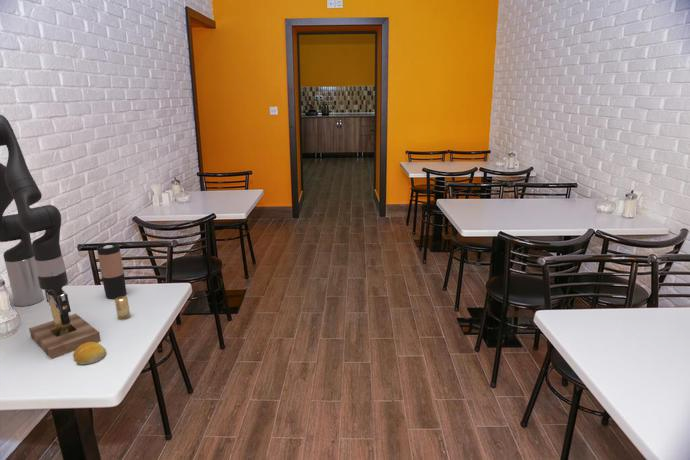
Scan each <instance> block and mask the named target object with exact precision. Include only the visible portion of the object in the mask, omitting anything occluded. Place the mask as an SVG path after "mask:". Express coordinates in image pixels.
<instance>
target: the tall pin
mask: <svg viewBox="0 0 690 460" xmlns="http://www.w3.org/2000/svg"><path fill="white" fill-rule="evenodd" d="M49 300H50V305H51V306H50V305H49V306H50V311H51V310H52V311H51V315H52V314H53V315H52V319H53V321H54V324H55V329H56V333H57V337H58V336H61V335H64V334H66V333H69V332H71V328H70V323H69V324H66V325H62V323H61V318H60V314H59V311H58V309H57V308H55V306H54V303H53V301H52V300H51V298H50V299H49ZM63 309H65V307H64V306H63Z"/></svg>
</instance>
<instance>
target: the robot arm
mask: <svg viewBox="0 0 690 460" xmlns="http://www.w3.org/2000/svg"><path fill="white" fill-rule="evenodd" d="M2 146H4V147H5V146H6V148H7V151H8V152H7V153H8V156H7V162H6V165H5V164H3V163H1V162H0V243H8V242H13V241H19V242H18V244H16V245H14V246H13V247H11V248H8V249H7V250H5V251H4V252H3V259H4V265H5V268H6V272H7V276H8V280H9V281H8V282H9V285H10V289H11V294H12V297H13V301H14V302H13V303H14V305H15V306H17V307H27V306H32V305H35V304H37V303H40V302H41V301H43V300H44V295H43V294H44V293H45V299H46V302H47V303H48V305H49V306H50V307H51V305H50V300H49V299H50V298H51V300H52V301H53V303H54V306H55V308H57V309H58V311H59V314H60V318H61V323H62V325H66V324H69V323H70V319H69V316H70V314H69V313H71V312H72V309H71V305H70V302H69V301H70V300H69V296H68V293H66V292H65V290H63V288H64V287H66V286H67V284H68V283H69V280H68V274H67V269H66V265H65V261H64V257H63V255H62V250H61V244H60V236H61V227H62V214H61V212H60V210H59V209H58V208H57V206H55V205H53V204H45V205H41V206H37V207H36V206H35V207H32V208H31V207H30V206H32V205H34V204H37V203H39V201H41V199H42V196H43V194H42V192H41V189H40V188H39V186H38V185H37V183H36V181H35V179H34V178H33V175H32V174H31V172H30V170H29V168H28V165H27V162H26V160H25V157H24V155H23V154H24V153H23V151H22V148H21V147H20V144H19V141H18V139H17V137H16V133H15V132H14V129H13V127H12V125H11V123H10V122H9V120H8V119H7V117H6V116H4V115H3V114H0V147H2ZM13 201H14V203H15V206H16V210H17V213H14V214H9V215H8V214H7V215H4V214H5V211H7V209H8V207H9V206H10V205H11V203H12V202H13ZM43 231H45V232H44V234H43V235H41V236H40V237H38V238H36V239H34V240H33V241H32V238H31V234H36V233H39V232H43ZM43 291H44V293H43ZM63 306H64V307H65V309H63ZM50 311H51V312H52V310H51V309H50ZM51 315H52V316H53V314H52V313H51Z"/></svg>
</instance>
